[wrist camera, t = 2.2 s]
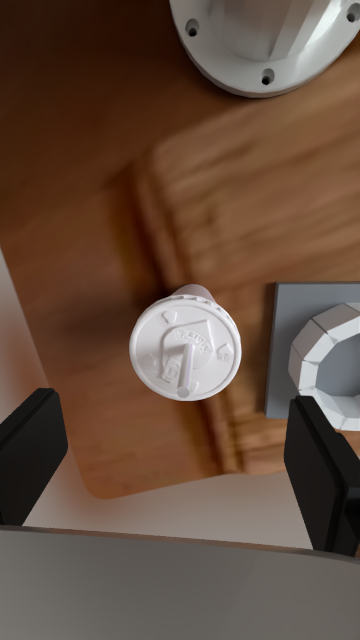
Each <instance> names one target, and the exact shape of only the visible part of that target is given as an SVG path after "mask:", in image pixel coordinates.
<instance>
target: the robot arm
mask: <svg viewBox="0 0 360 640" xmlns="http://www.w3.org/2000/svg"><path fill="white" fill-rule="evenodd" d="M169 2H170V7H171V12H172V17H173V21H174V24H175V27H176V30H177V33H178V36H179V38H180V41H181V43H182V45H183V47H184V48H185V50H186V52H187V54H188V56H189V58H190V59H191V61H192V62H193V63H194V64H195V66H196V67H197V68H198V69H199V70H200V72H201V73H202V74H203V75H204V76H205V77H207V78H208V79H209V80H210V81H212V82H213V83H214V84H215V85H217V86H218V87H220V88H222V89H224V90H226V91H228V92H231V93H233V94H236V95H241V96H245V97H250V98H263V97H272V96H277V95H281V94H285V93H288V92H290V91H292V90H295V89H297V88H299V87H301V86H303V85H305V84H307V83H308V82H310V81H311V80H312V79H314V78H315V77H317V76H318V75H320V74H321V73H322V72H323V71H324V70H326V69H327V68H328V67H329V66H330V65H331V64H332V63H333V62H334V61H335V60H336V59H337V58H338V57H339V56H340V54H341V53H342V52H343V51H344V49H345V48H346V47H347V46H348V44H349V43H350V42H351V41H352V40H353V38H354V37H355V35H356V34H357V32H358V31H359V29H360V0H169ZM347 18H348V19H350V20H351V22H349V21H348V19H347ZM193 32H194V33H196V34H197V35H196V36H194V37H190V36H189V35H190V34H191V33H193ZM263 79H267V80H268V83H269V84H268V85H263V83H262V80H263ZM67 449H68V441H67V436H66V430H65V425H64V420H63V414H62V409H61V404H60V398H59V394H58V393H57V392H55V390H54V389H52V388H38V389H37V390H36V391H34V392H33V394H31V395H30V396H29V397H28V398H27V399H26V400H25V401H24V402H23V403H22V404H21V405H20V406H19V407H18V408H17V409H16V410H15V411H13V412H12V414H11V415H9V416H8V417H7V418H6V419H5V420H4V421H3V422H2V423H1V424H0V640H360V460H359V458H358V457H357V455H356V454H355V452H354V451H353V449H352V448H351V446H350V445H349V443H348V442H347V440H346V439H345V437H344V436H343V435H342V434H341V433H337V432H336V431H335V430H334V428H333V427H332V425H331V424H330V422H329V420H328V419H327V417H326V416H325V414H324V413H323V411H322V409H321V408H320V406H319V405H318V403H317V402H316V400H315V399H314V397H313V396H307V395H296V397H295V399H291V400H290V406H289V414H288V423H287V431H286V440H285V448H284V463H285V466H286V469H287V472H288V475H289V478H290V481H291V484H292V487H293V490H294V493H295V496H296V499H297V502H298V505H299V508H300V511H301V513H302V517H303V520H304V523H305V525H306V529H307V532H308V535H309V538H310V540H311V543H312V546H313V549H314V550H311V549H302V548H293V547H282V546H273V545H262V544H252V543H241V542H228V541H215V540H204V539H191V538H179V537H166V536H153V535H139V534H126V533H113V532H99V531H85V530H72V529H56V528H42V527H28V526H22V525H23V523H24V521H25V520H26V518H27V517H28V515H29V513H30V512H31V510H32V508H33V507H34V505H35V504H36V502H37V500H38V499H39V497H40V495H41V494H42V492H43V491H44V489H45V487H46V485H47V484H48V482H49V481H50V479H51V477H52V476H53V474H54V473H55V471H56V469H57V468H58V466H59V465H60V463H61V461H62V460H63V458H64V456H65V455H66V453H67Z"/></svg>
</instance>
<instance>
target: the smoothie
mask: <svg viewBox="0 0 360 640" xmlns="http://www.w3.org/2000/svg"><path fill="white" fill-rule="evenodd" d="M129 352H130V359H131V362H132V365H133V368H134V370H135V372H136V373H137V375H138V376H139V378H140V379H141V380H142V381H143V382H144V383H145V384H146V385H147V386H148V387H149V388H150V389H152V390H153V391H155V392H156V393H158V394H160V395H162V396H165V397H168V398H171V399H175V400H181V401H193V400H200V399H204V398H207V397H210V396H212V395H214V394H216V393H218V392H219V391H221V390H222V389H223V388H225V387H226V386H227V385H228V384H229V383H230V382H231V380H232V379H233V378H234V376H235V374H236V372H237V370H238V368H239V365H240V360H241V344H240V336H239V333H238V330H237V327H236V324H235V323H234V321H233V320H232V319H231V317H230V316H229V314H228V313H227V312H226V311H225V310H224V309H222V308H221V307H220V306H219V305H217V304H216V302H215V300H214V299H213V297H212V296H211V294H210V293H209V291H208V290H207V289H205V288H204V287H202V286H200V285H196V284H189V285H185V286H183V287H181V288H180V289H178V290H177V291H176V292H175V293H173V294H172V295H171V296H169V297H166V298H164V299H161V300H158V301H157V302H155V303H154V304H152V305H151V306H150V307H148V308H147V309H146V310H145V311H144V312H143V314H142V315H141V316H140V317H139V319H138V320H137V323H136V325H135V327H134V329H133V331H132V334H131V338H130V344H129Z"/></svg>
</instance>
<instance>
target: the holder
mask: <svg viewBox="0 0 360 640" xmlns="http://www.w3.org/2000/svg"><path fill="white" fill-rule="evenodd" d="M296 395H307V396H313V397H314V399H315V400H316V402H317V403H318V405H319V406H320V408H321V409H322V411H323V413H324V414H325V416H326V417H327V419H328V420H329V422H330V424H331V425H332V426H333V427H335V428H337V429H340V430H353V431H360V281H352V282H276V288H275V298H274V309H273V320H272V331H271V342H270V353H269V363H268V374H267V385H266V396H265V407H264V413H265V416H266V418H279V419H288V414H289V406H290V400H291V399H295V397H296Z"/></svg>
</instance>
